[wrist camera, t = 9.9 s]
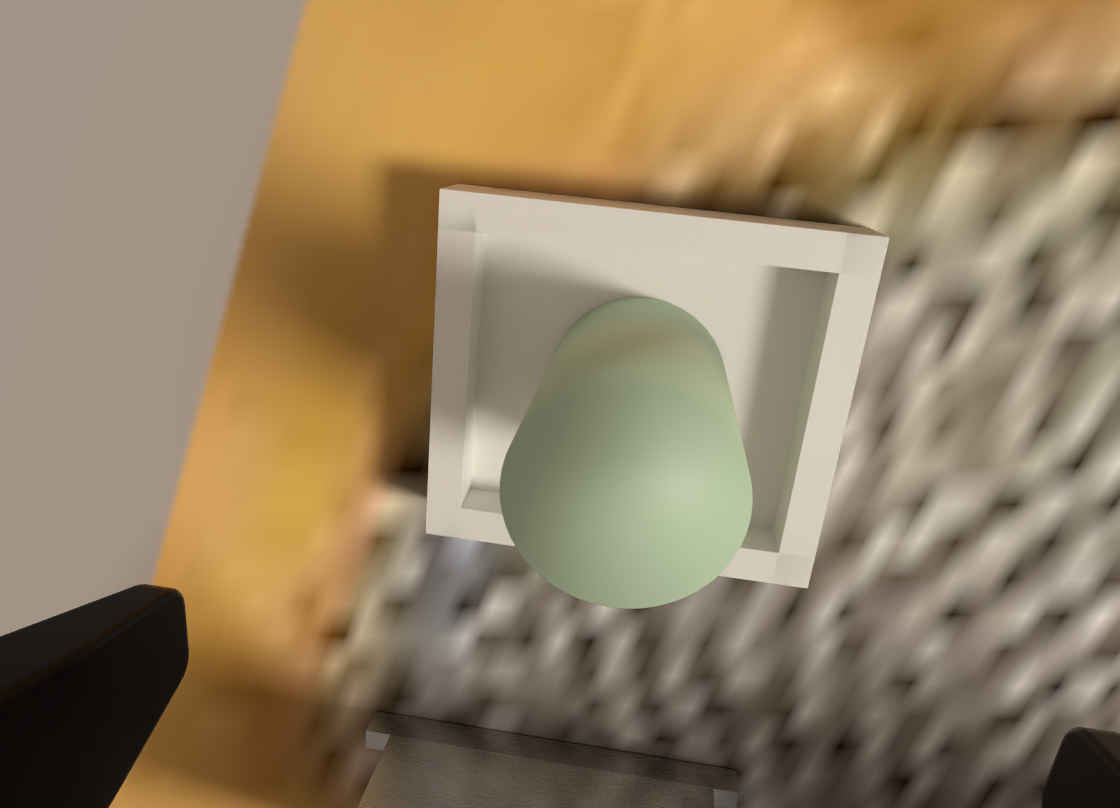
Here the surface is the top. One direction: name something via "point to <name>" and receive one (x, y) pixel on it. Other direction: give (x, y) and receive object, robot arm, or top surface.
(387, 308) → the top surface
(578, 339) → the pale green rounded cylinder
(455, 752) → the block
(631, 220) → the tray
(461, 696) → the top surface
